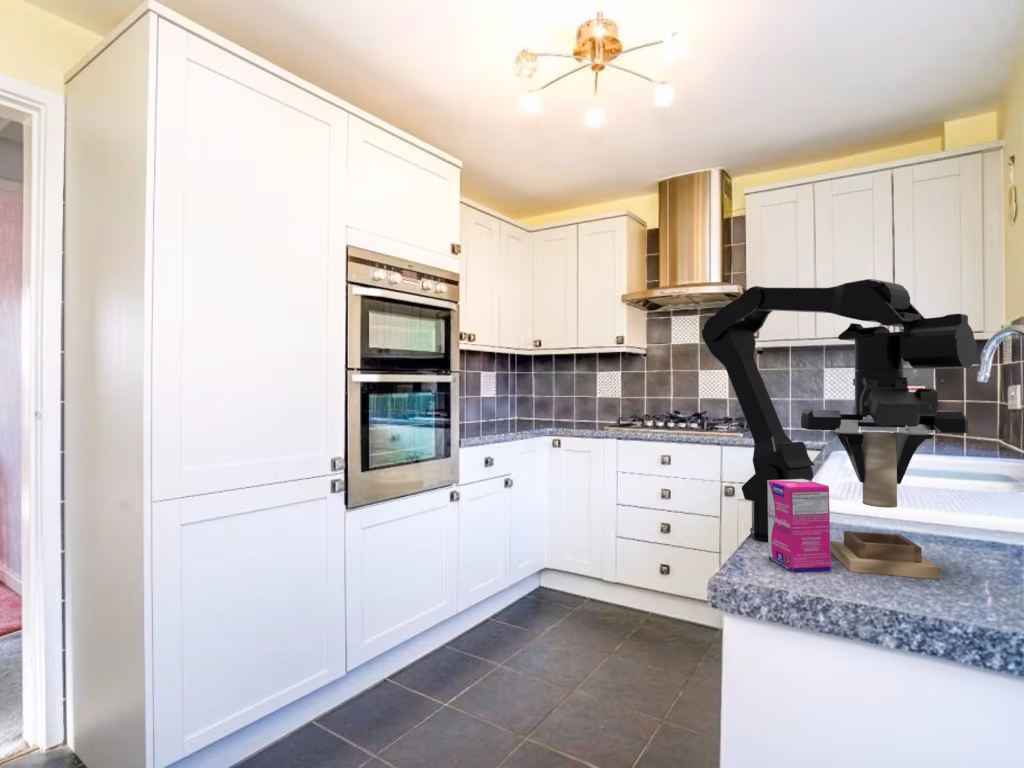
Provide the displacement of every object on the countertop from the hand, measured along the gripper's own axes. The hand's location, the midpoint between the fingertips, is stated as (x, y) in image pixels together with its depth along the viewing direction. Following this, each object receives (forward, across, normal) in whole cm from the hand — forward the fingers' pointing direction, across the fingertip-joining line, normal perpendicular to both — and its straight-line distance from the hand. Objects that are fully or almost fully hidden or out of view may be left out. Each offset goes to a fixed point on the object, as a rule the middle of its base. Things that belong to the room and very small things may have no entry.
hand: (879, 482), depth 77 cm
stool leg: (+3, 0, 0) cm, 3 cm away
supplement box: (+12, -11, -4) cm, 16 cm away
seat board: (+11, 0, 0) cm, 11 cm away
